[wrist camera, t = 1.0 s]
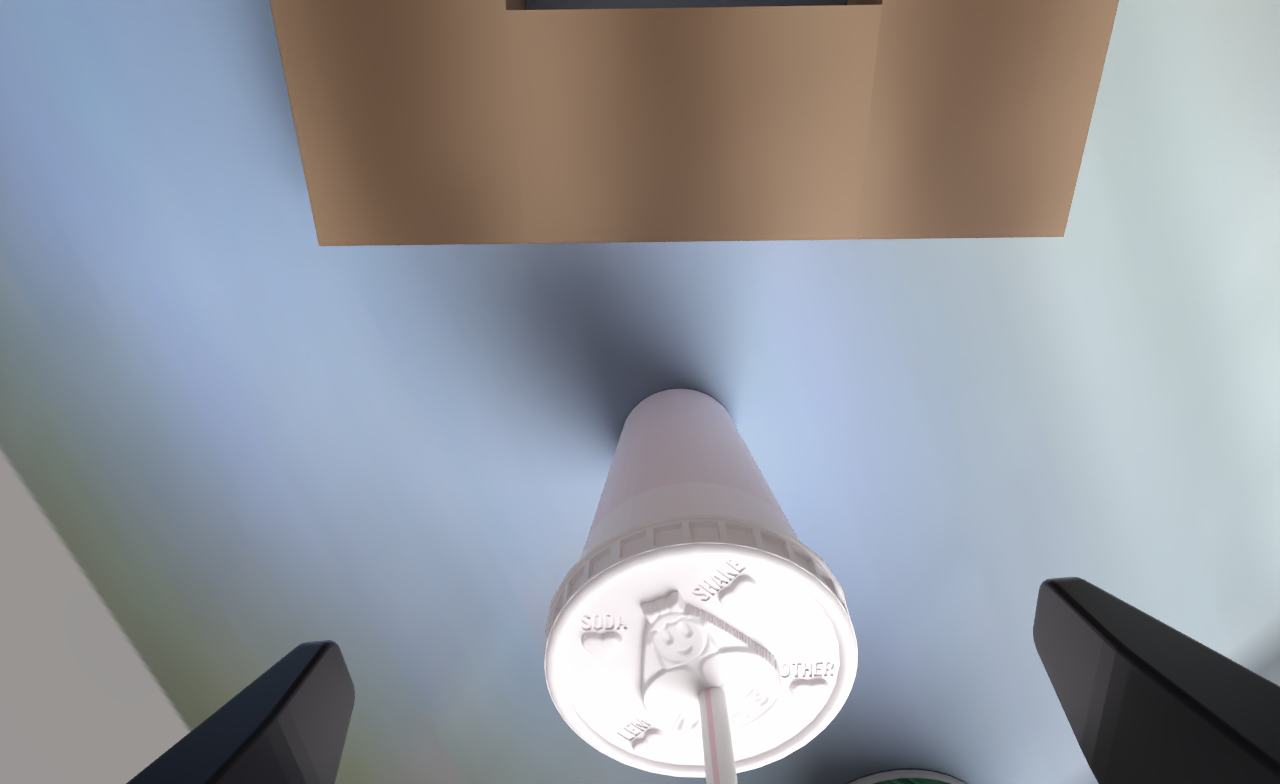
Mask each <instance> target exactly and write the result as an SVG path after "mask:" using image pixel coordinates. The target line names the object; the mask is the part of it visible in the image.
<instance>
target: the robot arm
mask: <svg viewBox="0 0 1280 784" xmlns="http://www.w3.org/2000/svg"><path fill="white" fill-rule="evenodd" d="M1033 637H1034V642H1035V646H1036V649H1037V651H1038V654H1039V656H1040V658H1041V660H1042V663H1043V665H1044V667H1045V669H1046V671H1047V674H1048V676H1049V678H1050V680H1051V683H1052V685H1053V687H1054V689H1055V692H1056V694H1057V696H1058V698H1059V701H1060V703H1061V705H1062V707H1063V710H1064V712H1065V714H1066V716H1067V718H1068V721H1069V723H1070V725H1071V727H1072V730H1073V732H1074V734H1075V736H1076V739H1077V741H1078V743H1079V745H1080V748H1081V750H1082V752H1083V754H1084V756H1085V758H1086V760H1087V762H1088V764H1089V766H1090V768H1091V770H1092V772H1093V774H1094V776H1095V778H1096V779H1097V781H1098V783H1099V784H1280V686H1278V685H1277V684H1275V683H1273V682H1271V681H1269V680H1267V679H1266V678H1264V677H1262V676H1260V675H1258V674H1256V673H1254V672H1253V671H1251V670H1249V669H1247V668H1245V667H1243V666H1242V665H1240V664H1238V663H1236V662H1234V661H1232V660H1231V659H1229V658H1227V657H1225V656H1223V655H1221V654H1220V653H1218V652H1216V651H1214V650H1212V649H1210V648H1209V647H1207V646H1205V645H1203V644H1201V643H1199V642H1198V641H1196V640H1194V639H1192V638H1190V637H1188V636H1187V635H1185V634H1183V633H1181V632H1179V631H1177V630H1176V629H1174V628H1172V627H1170V626H1168V625H1166V624H1164V623H1163V622H1161V621H1159V620H1157V619H1155V618H1153V617H1152V616H1150V615H1148V614H1146V613H1144V612H1142V611H1141V610H1139V609H1137V608H1135V607H1133V606H1131V605H1130V604H1128V603H1126V602H1124V601H1122V600H1120V599H1119V598H1117V597H1115V596H1113V595H1111V594H1109V593H1108V592H1106V591H1104V590H1102V589H1100V588H1098V587H1097V586H1095V585H1093V584H1091V583H1089V582H1087V581H1085V580H1083V579H1081V578H1078V577H1066V578H1054V579H1047V580H1045V581H1043V582H1042V584H1041V585H1040V589H1039V594H1038V600H1037V607H1036V613H1035V620H1034V626H1033ZM354 699H355V691H354V685H353V682H352V679H351V677H350V674H349V671H348V669H347V666H346V663H345V661H344V658H343V655H342V653H341V650H340V648H339V646H338V645H337V644H336V643H335V642H334V641H331V640H325V641H313V642H306V643H302V644H300V645H299V646H297V647H296V648H295V649H293V650H292V651H291V652H290V653H288V654H287V655H286V656H285V657H283V658H282V659H281V660H280V661H278V662H277V663H276V664H275V665H273V666H272V667H271V668H270V669H268V670H267V671H266V672H265V673H263V674H262V675H261V676H260V677H259V678H257V679H256V680H255V681H254V682H252V683H251V684H250V685H249V686H247V687H246V688H245V689H244V690H242V691H241V692H240V693H239V694H237V695H236V696H235V697H234V698H232V699H231V700H230V701H229V702H227V703H226V704H225V705H224V706H222V707H221V708H220V709H219V710H217V711H216V712H215V713H214V714H212V715H211V716H210V717H209V718H207V719H206V720H205V721H204V722H202V723H201V724H200V725H199V726H197V727H196V728H195V729H194V730H192V731H191V732H190V733H189V734H188V735H186V736H185V737H184V738H183V739H181V740H180V741H179V742H178V743H176V744H175V745H174V746H173V747H171V748H170V749H169V750H168V751H166V752H165V753H164V754H163V755H161V756H160V757H159V758H158V759H156V760H155V761H154V762H153V763H151V764H150V765H149V766H148V767H146V768H145V769H144V770H143V771H141V772H140V773H139V774H138V775H137V776H135V777H134V778H133V779H131V780H130V781H129V782H128V783H126V784H335V780H336V776H337V772H338V768H339V764H340V760H341V755H342V751H343V747H344V743H345V739H346V735H347V731H348V727H349V723H350V719H351V714H352V710H353V706H354Z"/></svg>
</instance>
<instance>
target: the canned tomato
mask: <svg viewBox="0 0 1280 784" xmlns="http://www.w3.org/2000/svg"><path fill="white" fill-rule="evenodd" d="M849 784H966V783H964V782H962V781H959V780H957V779H955V778H953V777H951V776H948V775H945V774H941V773H937V772H933V771H925V770H917V769H915V770H893V771H887V772H881V773H876V774H873V775H870V776H866V777H863V778H860V779H858V780H856V781H853V782H851V783H849Z"/></svg>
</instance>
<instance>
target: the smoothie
mask: <svg viewBox="0 0 1280 784" xmlns="http://www.w3.org/2000/svg"><path fill="white" fill-rule="evenodd" d="M545 632H546V639H547V645H546V651H545V664H544V665H545V677H546V682H547V686H548V690H549V692H550V695H551V698H552V700H553V702H554V704H555V706H556V708H557V710H558V711H559V713H560V714H561V716H562V718H563V719H564V720H565V721H566V723H567V724H568V725H569V726H570V728H571V729H572V730H573V731H574V732H575V733H576V734H577V735H578V736H580V737H581V738H582V739H583V740H584V741H586V742H587V743H588V744H589V745H591V746H592V747H594V748H595V749H597V750H598V751H600V752H601V753H603V754H605V755H607V756H609V757H611V758H613V759H615V760H617V761H619V762H621V763H623V764H626V765H629V766H632V767H635V768H638V769H641V770H644V771H647V772H652V773H658V774H664V775H669V776H675V777H706V784H738V782H737V775H736V773H740V772H744V771H748V770H752V769H757V768H760V767H762V766H765V765H767V764H770V763H772V762H775V761H777V760H780V759H782V758H784V757H786V756H788V755H789V754H791V753H793V752H794V751H796V750H798V749H799V748H801V747H803V746H805V745H806V744H807V743H808V742H810V741H811V740H812V739H813V738H815V737H816V736H817V735H818V734H819V733H820V732H822V731H823V730H824V729H825V728H826V727H827V726H828V725H829V724H830V722H831V721H832V720H833V719H834V718H835V717H836V715H837V714H838V712H839V711H840V710H841V708H842V707H843V705H844V703H845V701H846V700H847V698H848V696H849V693H850V691H851V689H852V686H853V683H854V680H855V676H856V671H857V664H858V649H857V640H856V636H855V632H854V628H853V626H852V623H851V619H850V615H849V611H848V608H847V604H846V600H845V596H844V592H843V589H842V587H841V586H840V584H839V583H838V581H837V580H836V578H835V577H834V575H833V574H832V572H831V571H830V569H829V568H828V566H827V565H826V563H825V562H824V560H823V559H821V558H820V557H819V556H818V555H817V554H815V553H814V552H813V551H812V550H810V549H809V548H808V547H807V546H805V545H804V544H803V543H802V542H800V541H799V539H798V537H797V535H796V534H795V532H794V530H793V529H792V527H791V526H790V524H789V522H788V520H787V518H786V517H785V515H784V513H783V511H782V509H781V508H780V506H779V504H778V502H777V500H776V498H775V497H774V495H773V493H772V491H771V489H770V488H769V486H768V484H767V482H766V480H765V478H764V477H763V475H762V473H761V471H760V469H759V468H758V466H757V464H756V462H755V460H754V458H753V457H752V455H751V453H750V451H749V449H748V448H747V446H746V444H745V442H744V440H743V438H742V437H741V435H740V433H739V431H738V429H737V428H736V426H735V424H734V422H733V420H732V418H731V417H730V415H729V413H728V412H727V410H726V409H725V408H724V407H723V406H722V405H721V404H720V403H719V402H718V401H716V400H715V399H714V398H712V397H710V396H709V395H707V394H704V393H702V392H699V391H695V390H690V389H669V390H664V391H661V392H658V393H655V394H653V395H651V396H649V397H647V398H645V399H644V400H643V401H641V402H640V403H639V404H638V405H637V406H636V407H635V408H634V409H633V410H632V411H631V413H630V414H629V415H628V417H627V419H626V421H625V423H624V426H623V429H622V432H621V436H620V439H619V442H618V445H617V448H616V451H615V454H614V457H613V461H612V464H611V467H610V470H609V473H608V476H607V479H606V482H605V486H604V489H603V492H602V495H601V498H600V501H599V504H598V507H597V511H596V514H595V517H594V520H593V523H592V526H591V529H590V533H589V536H588V539H587V542H586V545H585V547H584V549H583V553H582V556H581V559H580V561H579V562H578V563H576V564H575V565H574V566H573V567H572V568H571V569H570V570H569V571H568V573H567V575H566V576H565V578H564V580H563V582H562V583H561V585H560V587H559V589H558V590H557V592H556V594H555V595H554V597H553V599H552V601H551V606H550V611H549V616H548V621H547V626H546V631H545Z"/></svg>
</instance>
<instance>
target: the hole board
mask: <svg viewBox="0 0 1280 784" xmlns="http://www.w3.org/2000/svg"><path fill="white" fill-rule="evenodd" d="M1118 2H1119V0H847V5H826V6H759V7H692V8H625V9H558V10H526V5H525V0H270V5H271V10H272V15H273V20H274V25H275V30H276V35H277V39H278V44H279V49H280V54H281V59H282V64H283V69H284V74H285V79H286V84H287V89H288V94H289V99H290V104H291V109H292V114H293V119H294V124H295V129H296V134H297V139H298V144H299V149H300V154H301V159H302V164H303V169H304V173H305V178H306V183H307V188H308V193H309V198H310V203H311V208H312V213H313V218H314V223H315V228H316V233H317V238H318V243H319V246H358V245H438V244H518V243H599V242H679V241H759V240H840V239H920V238H1000V237H1064V233H1065V228H1066V224H1067V220H1068V216H1069V211H1070V207H1071V203H1072V199H1073V194H1074V190H1075V186H1076V182H1077V177H1078V173H1079V169H1080V164H1081V160H1082V156H1083V152H1084V147H1085V143H1086V139H1087V135H1088V130H1089V126H1090V122H1091V117H1092V113H1093V109H1094V105H1095V100H1096V96H1097V92H1098V88H1099V83H1100V79H1101V75H1102V70H1103V66H1104V62H1105V58H1106V53H1107V49H1108V45H1109V41H1110V36H1111V32H1112V28H1113V24H1114V19H1115V15H1116V11H1117V6H1118Z"/></svg>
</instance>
